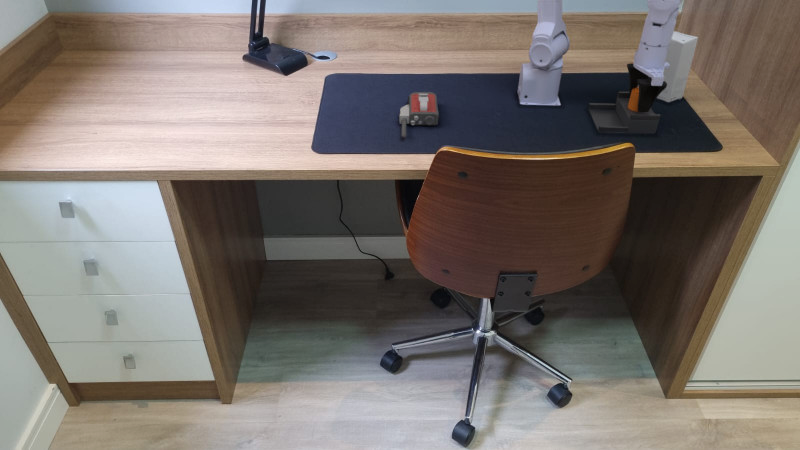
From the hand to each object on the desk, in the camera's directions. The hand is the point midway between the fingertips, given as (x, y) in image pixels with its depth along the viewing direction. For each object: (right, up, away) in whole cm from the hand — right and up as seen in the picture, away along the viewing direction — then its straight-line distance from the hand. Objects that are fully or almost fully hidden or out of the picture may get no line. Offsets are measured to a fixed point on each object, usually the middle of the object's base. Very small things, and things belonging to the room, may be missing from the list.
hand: (638, 104), depth 123 cm
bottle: (0, -1, +1) cm, 1 cm away
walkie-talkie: (-48, -3, +4) cm, 48 cm away
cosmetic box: (+11, +5, +14) cm, 19 cm away
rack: (-3, -4, +3) cm, 5 cm away
